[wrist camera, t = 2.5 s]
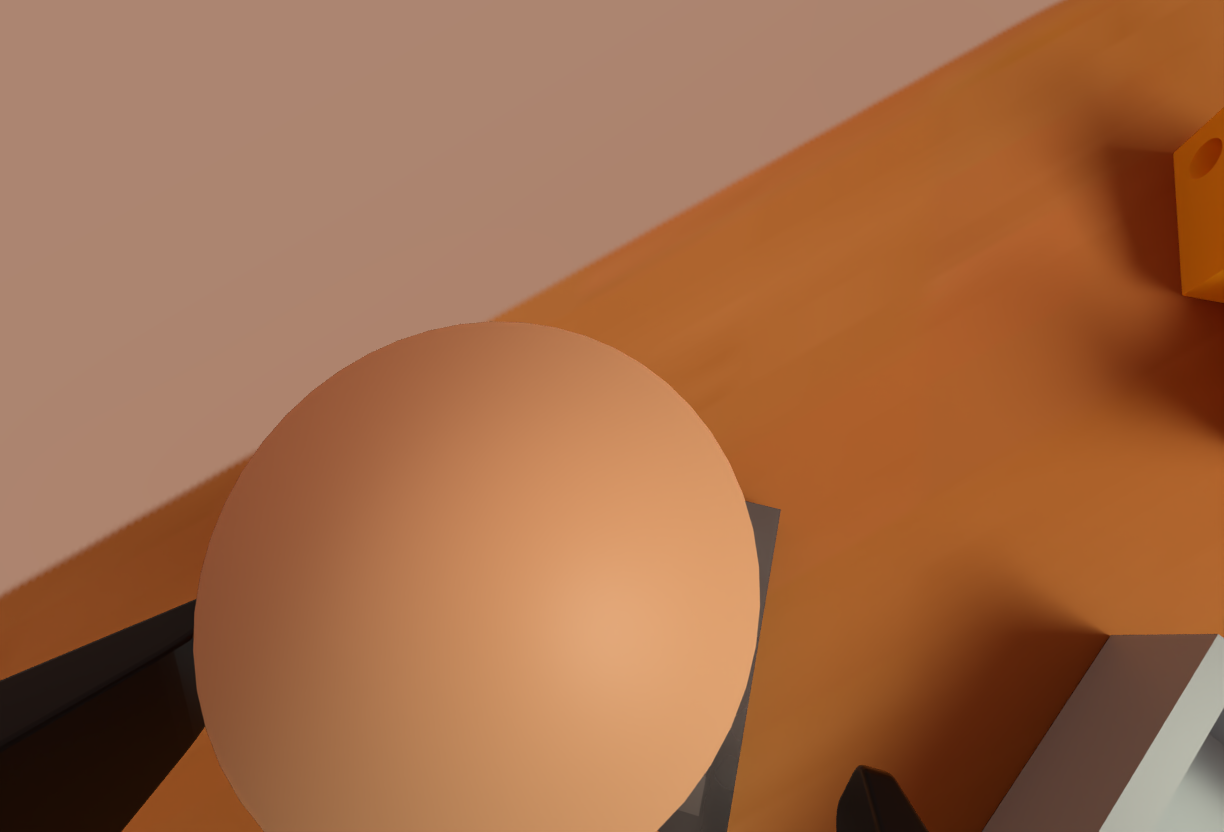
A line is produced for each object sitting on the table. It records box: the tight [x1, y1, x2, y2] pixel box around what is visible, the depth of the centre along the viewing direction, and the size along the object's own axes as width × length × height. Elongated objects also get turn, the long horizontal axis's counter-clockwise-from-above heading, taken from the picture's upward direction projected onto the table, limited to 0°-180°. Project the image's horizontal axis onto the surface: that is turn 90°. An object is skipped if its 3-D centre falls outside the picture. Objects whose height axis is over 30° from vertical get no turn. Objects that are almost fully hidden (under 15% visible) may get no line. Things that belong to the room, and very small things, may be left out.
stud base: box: [657, 501, 781, 832], centre depth 17 cm, size 9×9×4 cm
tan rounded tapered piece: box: [193, 322, 760, 832], centre depth 11 cm, size 4×4×14 cm
